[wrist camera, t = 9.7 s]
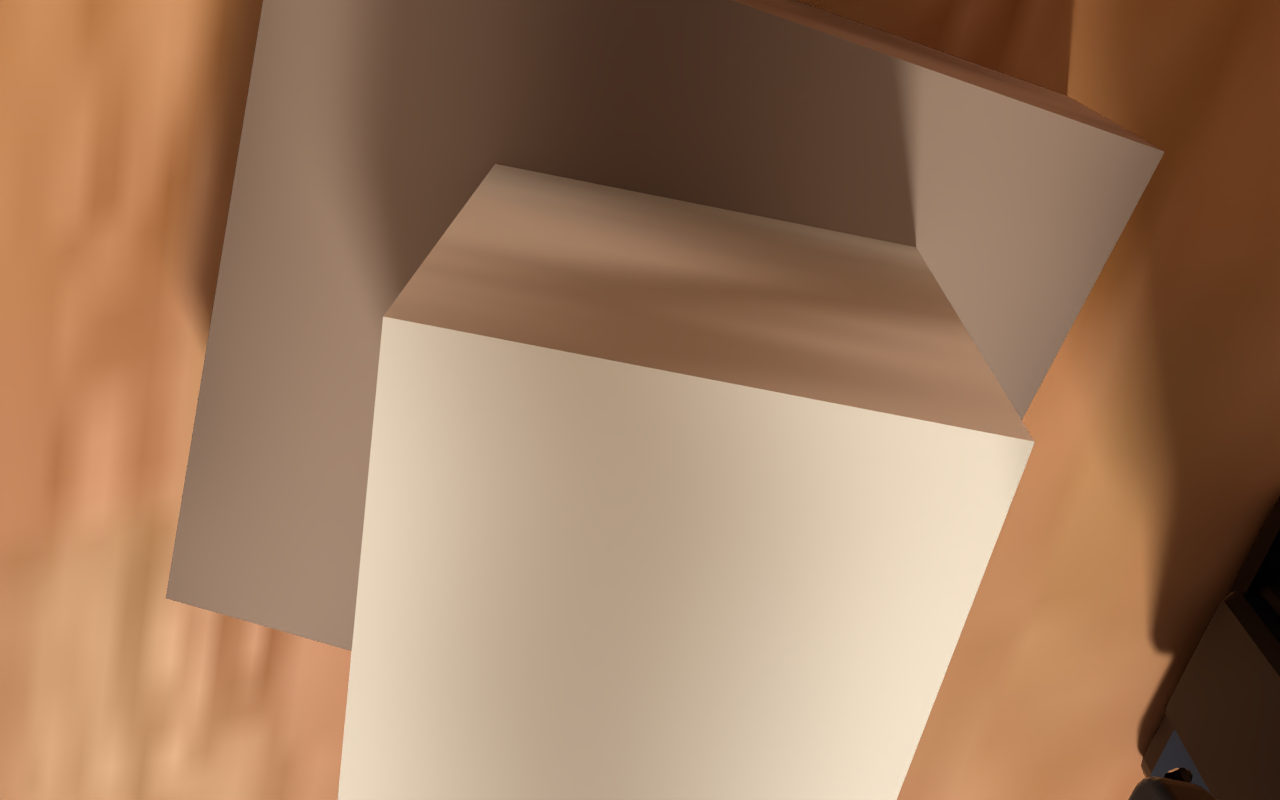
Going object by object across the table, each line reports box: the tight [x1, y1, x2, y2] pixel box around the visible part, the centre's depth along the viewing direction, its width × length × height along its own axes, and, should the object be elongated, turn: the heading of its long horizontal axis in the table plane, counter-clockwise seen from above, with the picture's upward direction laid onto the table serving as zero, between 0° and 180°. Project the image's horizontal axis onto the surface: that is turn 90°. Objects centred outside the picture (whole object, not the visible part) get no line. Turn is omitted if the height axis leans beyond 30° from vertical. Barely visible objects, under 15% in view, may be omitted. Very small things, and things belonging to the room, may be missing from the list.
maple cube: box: [338, 164, 1035, 800], centre depth 12 cm, size 5×5×5 cm
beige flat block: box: [166, 0, 1165, 651], centre depth 16 cm, size 10×10×4 cm
